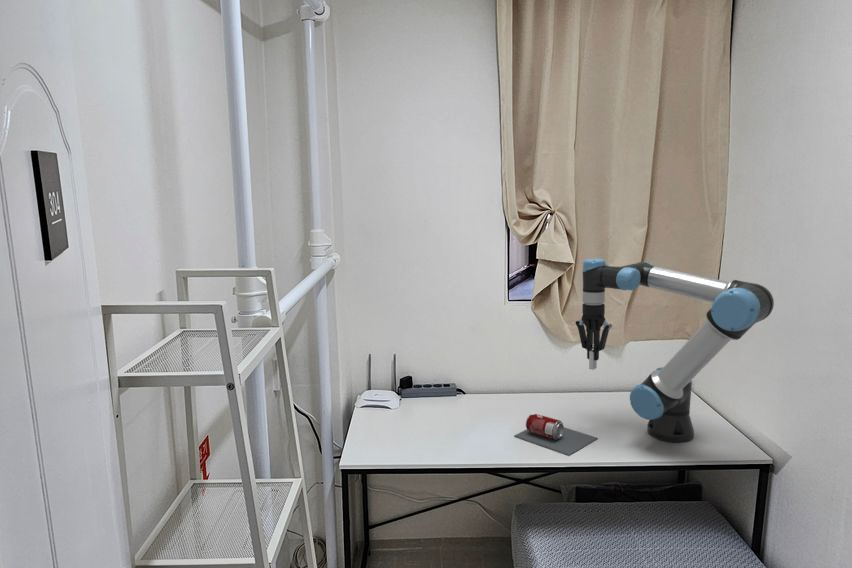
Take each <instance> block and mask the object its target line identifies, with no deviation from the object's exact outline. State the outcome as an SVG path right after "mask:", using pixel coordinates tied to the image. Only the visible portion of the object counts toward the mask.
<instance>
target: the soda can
mask: <svg viewBox="0 0 852 568" xmlns="http://www.w3.org/2000/svg"><path fill="white" fill-rule="evenodd" d="M564 427H565V426H564V422H563V421H562V420H559V419H555V418H553V417H549V416H546V415H541V414H538V413H535V414H529V415H528V416H527V417H526V421H525V428H526V429H527V430H529V431H530V432H531V433H534V434H537V435H540V436H543V437H547V438H550V439H553V440H559V439H560V437H561V436H562V434H563V431H564Z"/></svg>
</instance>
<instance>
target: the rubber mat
mask: <svg viewBox="0 0 852 568" xmlns="http://www.w3.org/2000/svg"><path fill="white" fill-rule="evenodd" d="M513 436H514V438H517V439H520V440H522V441H525V442H529V443H532V444H534V445H537V446H540V447H543V448H546V449H549V450H551V451H554V452H557V453H560V454H562V455H566V456H568V457H570V456H571V455H573V454H575V453H577V452H579V451H581V450H582V449H583V448H585V447H587V446H588V445H590V444H592V443H593V442H595V441H597V440H598V439H599V438H598V437H596V436H592V435H591V434H590V435H589V434H587V433H584V432H580V431H578V430H574V429H571V428H567V427H565V426H564V431H563V434H562V436H561V437H560V439H559V440H553V439H550V438H547V437H543V436H540V435H537V434H534V433H531V432H530V431H529V430H527V428H526V429H525V430H523V431H521V432H518V433H515V434H514V435H513Z"/></svg>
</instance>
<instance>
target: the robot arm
mask: <svg viewBox="0 0 852 568" xmlns="http://www.w3.org/2000/svg"><path fill="white" fill-rule="evenodd" d="M639 286H643V287H646V288H650V289H655V290H658V291H662V292H668V293H671V294H676V295H680V296H684V297H688V298H692V299H696V300H700V301H704V302H709V303H712V304H711V307H710V308H709V310H708V311H707V312H706V313H705V318H706V320H705V322H704V323H703V324H702V325H701V326H700V327H699V328H698V329H697V330H696V331H695V332H694V334H693V335H692V336H691V337H690V338H689V339H688V340H687V341H686V343H684V344H683V346H682V347H681V348H680V349H679V350H678V351H677V352H676V353H675V354H674V356H673V357H671V359H670V360H669V361H668V362H667V363H666V364H665V365H664V366H663V367H657V368H656V369H654V370H653V371H652V372H651V373H650V374H649V375H648V376H647V377H646V378H645V380H644V381H642V382H641V383H640V384H637V385H635V387H634V388H632V389H631V391H630V394H629V400H630V405H631V408H632V409H633V411H634V413H636V415H637V416H639V417H640V418H642V419H645V420H647V421H648V422H647V426H646V431H647V434H648V435H649V436H651V437H652V438H655V439H657V440H660V441H663V442H669V443H687V442H690V441H691V440H693V439H694V435H695V430H694V426H693V423H692V419H691V415H690V411H691V400H692V385H693V381H692V380H693V379H694V378H695V377H696V376H698V374H699V373H700V372H701V371H702V370H703V368H705V366H707V365H708V364H709V363H710V362H711V361H712V359H714V358H715V356H717V354H719V353H720V351H721V350H722V349H724V348H725V346H726V345H727V344H728V343H729V342H730V341H739V340H740V339H741V338H742V337H743V336H744V335H745V334H746V333H747V332H748V331H750V329H751V328H752V327H753V326H754V325H756V324H757V323H759V322H762V321H763V320H765V319H766V318H768V317H769V316H770V315H771V313H772V311H773V309H774V305H775V301H774V297H773V294H772V293H771V291H770V290H769V289H768V288H767V287H765V286H764V285H761V284H758V283H754V282H748V281H742V280H737V279H732V280H731V281H727V280H722V279H717V278H712V277H708V276H703V275H698V274H695V273H689V272H684V271H680V270H679V271H678V270H675V269H669V268H665V267H661V266H657V265H653V264H652V263H651V262H649V261H648V262H647V261H638V262H636V263H635V262H634V263H632V264H626V265H622V266H611V265H606V260H605V259H604V258H587V259H585V260H583V263H582V312H581V313H582V316H581V319H579V320H577V321H575V325H576V327H577V329H578V335H579V338H580V343H581V348H582V349H585V350H586V359H587V360H589V361H588V370H590V371H591V370H592V371H594V370H595V369H597V367H598V365H597V364H598V363H597V362H598V361H599V359H600V351H603V350H604V349H605V348H606V344H607V339H608V335H609V331H610V330H611V328H612V327H613V325H612V324H611V323H608V322H607V321H606V318H605V314H606V313H605V312H606V311H605V309H606V306H605V302H606V299H605V298H606V297H605V296H606V295H605V294H606V289H613V290H614V289H615V290H621V291H635V290H637V288H638V287H639ZM601 328H603V329H602V332H601ZM600 333H601V335H600Z"/></svg>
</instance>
